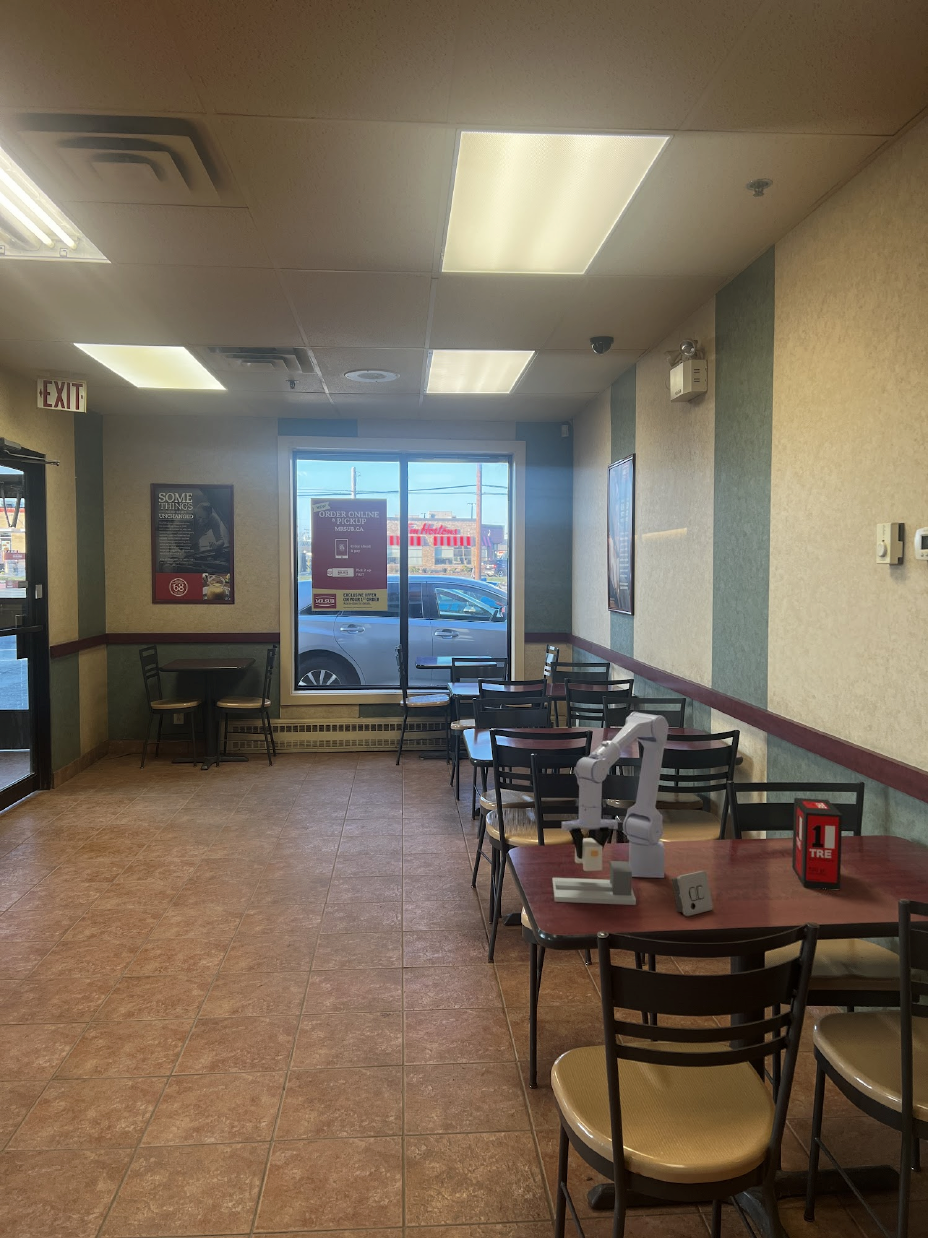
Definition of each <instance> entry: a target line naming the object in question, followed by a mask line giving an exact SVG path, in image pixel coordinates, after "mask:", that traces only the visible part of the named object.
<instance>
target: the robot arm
mask: <svg viewBox="0 0 928 1238" xmlns="http://www.w3.org/2000/svg"><path fill="white" fill-rule="evenodd" d="M669 727H670V726H669V722H668V721H667V719H666V718H665V716H663V715H656V714H649V713H644V712H638V711H633V712H631V713H630V714H629V715H628V716H626V718H625V724H624V726H623V727H622V728H621V729H620V730H619V732H618V733H617V734H615V736H614V737H613V738H612V740H603V741H602V742H600V745H599V746H598V747H596V749H594V750H593V751H592V752H591V753H589V755H588V756H583V757H582V758H580V759H579V760H578V761H576V762H577V763H576V765H575V768H574V775H575V776H576V780H577V785H578V786H579V787H578V788H579V789H578V819H573V820H567V821H561V831H563V832H569V834H570V836H571V838H572V840H573V843H574V849H575V848H576V853H577V857H578V858H579V859H582V845H583V838H584V837H585V835H584V833H583V831H582V830H584V831H585V830H594V832H595V833H594V834H595V841H596V842H597V843H598V844H600V845H601V846H602V852H603V851H604V847H605V845H606V842H607V840H608V839H609V838H610V836H611V830H610V829H613V830H618V829H619V827H618V826H619V823H618V820H616V819H604V818H602V795H603V793H602V792H603V791H602V790H603V781H605V779H607V776H608V772H609V771H610V768H611V767H612V766H613V765H614V764H615V763H616V762H617V761H618V760H619V759H620V758H621V755H622V752H621V751H622V750H623V749H625V747H627V746H628V745H630V744H631V743H632V742H633V741H634V740H637V741H638V742H640V744H641V745H642V747H643V753H642V755H643V756H642V761H641V766H640V767H641V768H640V772H639V779H638V787H637V793H636V799H635V803H634V805H632V806H630V807H629V808H627V810H626V811H627V812H626V816H625V818H624V819H623V823H622V830H623V833H624V835H626V839H627V840H628V841H629V842H628V843H629V844H628V864H629V866H630V868H631V871H632V878H634V877H635V878H654V879H655V878H656V879H657V878H660V879H664V878H665V845H664V842H663V841H660V840H661V839H662V837H663V834H664V827H663V819H664V816H663V815H662V814H661V813H660V811H659V810H658V809H657V808H656V804H657V797H658V791H659V785H660V784H659V783H660V778H661V771H662V770H661V769H662V763H663V756H664V751H665V746H666V745H667V739H668V733H669Z"/></svg>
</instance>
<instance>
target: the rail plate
mask: <svg viewBox="0 0 928 1238" xmlns="http://www.w3.org/2000/svg"><path fill="white" fill-rule="evenodd" d="M632 881H633V877H632V871H631V868H630V866H629V861H626V860H625V861H622V860H621V861H620V860H617V861H616V860H610V861H609V879H595V878H594V879H593V878H577V877H576V878H574V877H573V878H572V877H552V880H551V883H552V888H553V889H552V890H553V898H554V899H553V900H554V902H556V903H558V902H559V903H577V904H579V903H581V904H582V903H583V904H604V905H605V904H606V905H607V904H609V905H630V906H637V899H636V896H635V894H634V890H633V888H632V887H633V886H632V884H633V883H632Z"/></svg>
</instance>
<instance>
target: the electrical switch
mask: <svg viewBox="0 0 928 1238" xmlns="http://www.w3.org/2000/svg"><path fill="white" fill-rule="evenodd" d="M671 885H672V890H673V895H674V901H675V906H676V912H677V913H682V914H683V916H685V917H691V916H694V915H697V914H701V913H705V912H709V911H712V910H713V908H714V906H713V900H712V894H711V890H710V889H711V888H710V884H709V879H708V873H707V872H706V871H705V870H700V871H695V872H691V873H685V874H681V875H678V876H677V877H673V878H671Z"/></svg>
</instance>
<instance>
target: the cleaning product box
mask: <svg viewBox="0 0 928 1238" xmlns="http://www.w3.org/2000/svg"><path fill="white" fill-rule="evenodd" d="M792 827H793V830H792V858H791V859H792V860H791V861H792V862H791V867H792V870H793V871H794V874H795V875H796V876H798V877H797V878H798V880H799V882H800V883H801V885H802V887H803V888H805V889H815V888H820V889H819V890H827V889H840V890H841V871H842V870H841V866H842V865H841V863H842V838H843V837H842V836H843V835H842V834H843V833H842V832H843V814H842V813H841V812H840V811H839V810H838V809H837V808H836V807H835V805H834V804H832V802H830V801H829V800H828V799H820V798H819V799H818V798H805V797H804V798H802V797H794V798H793V826H792ZM823 888H824V889H823ZM825 888H826V889H825Z"/></svg>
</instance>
